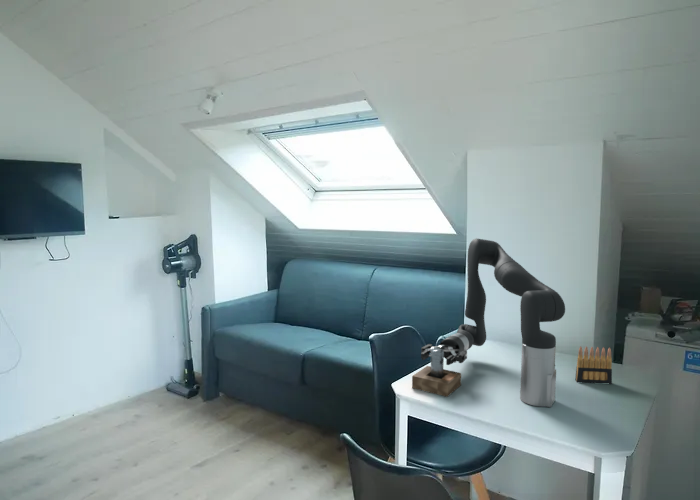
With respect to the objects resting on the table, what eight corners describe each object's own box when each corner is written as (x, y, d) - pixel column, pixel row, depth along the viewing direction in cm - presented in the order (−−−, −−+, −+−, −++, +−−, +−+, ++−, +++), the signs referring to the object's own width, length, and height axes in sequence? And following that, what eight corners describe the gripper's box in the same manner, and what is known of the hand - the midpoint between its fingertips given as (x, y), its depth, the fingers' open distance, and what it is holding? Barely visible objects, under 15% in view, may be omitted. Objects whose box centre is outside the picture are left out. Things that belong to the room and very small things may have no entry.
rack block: (461, 385, 151) (461, 372, 150) (447, 396, 142) (447, 383, 141) (427, 377, 157) (427, 365, 157) (412, 387, 148) (412, 375, 148)
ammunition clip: (576, 382, 152) (578, 347, 151) (575, 380, 154) (576, 345, 153) (611, 384, 151) (613, 348, 149) (609, 382, 152) (611, 346, 151)
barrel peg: (445, 385, 150) (445, 349, 149) (440, 389, 147) (440, 353, 146) (433, 383, 152) (434, 347, 151) (428, 387, 149) (428, 350, 148)
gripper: (435, 332, 164) (414, 344, 151) (474, 339, 156) (456, 351, 143) (435, 353, 165) (414, 366, 151) (474, 360, 157) (455, 375, 143)
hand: (434, 359), depth 147 cm, fingers open, 8 cm apart
